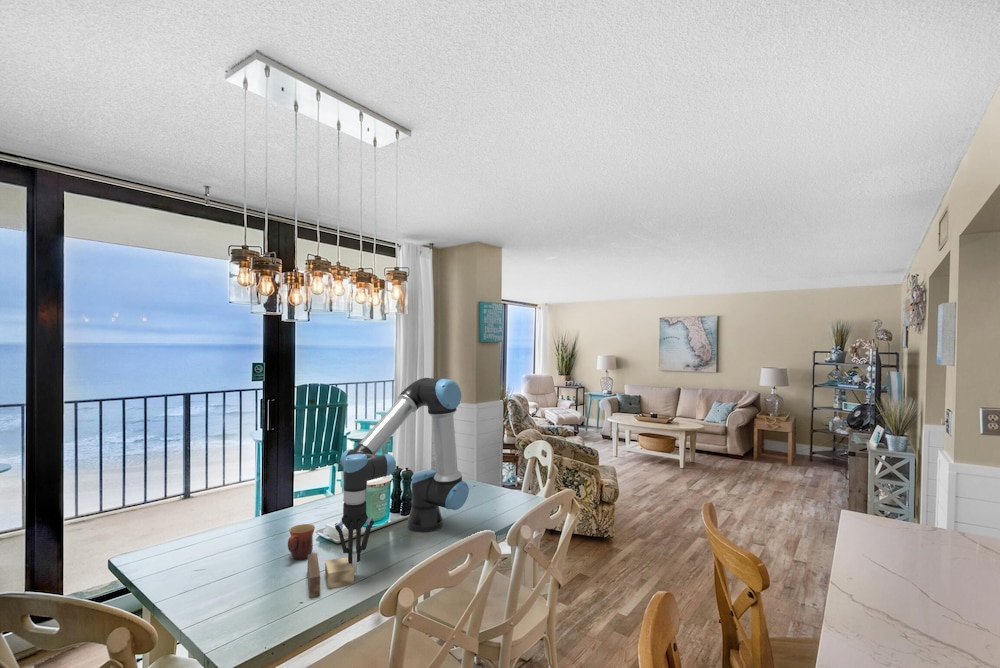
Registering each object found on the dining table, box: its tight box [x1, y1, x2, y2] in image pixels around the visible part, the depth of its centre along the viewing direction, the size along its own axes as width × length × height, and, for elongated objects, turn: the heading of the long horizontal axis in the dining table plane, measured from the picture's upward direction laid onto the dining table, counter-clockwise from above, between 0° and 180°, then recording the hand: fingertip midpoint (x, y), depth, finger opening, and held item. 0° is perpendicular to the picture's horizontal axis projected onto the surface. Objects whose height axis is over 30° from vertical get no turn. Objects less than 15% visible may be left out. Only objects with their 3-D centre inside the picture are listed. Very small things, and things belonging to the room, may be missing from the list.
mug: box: [287, 523, 316, 561], centre depth 175 cm, size 12×9×10 cm
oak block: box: [324, 556, 355, 590], centre depth 160 cm, size 8×10×5 cm
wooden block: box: [307, 552, 321, 599], centre depth 157 cm, size 3×18×6 cm, turn 24°
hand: (353, 571), depth 162 cm, fingers closed
